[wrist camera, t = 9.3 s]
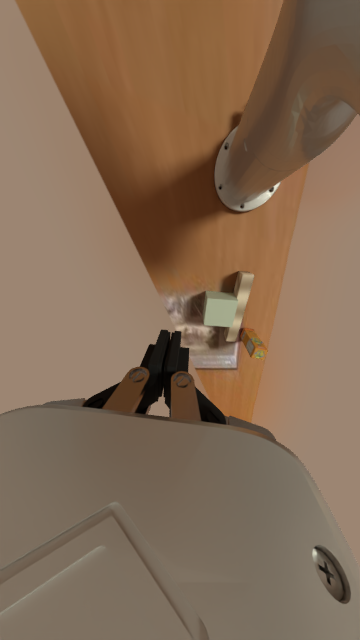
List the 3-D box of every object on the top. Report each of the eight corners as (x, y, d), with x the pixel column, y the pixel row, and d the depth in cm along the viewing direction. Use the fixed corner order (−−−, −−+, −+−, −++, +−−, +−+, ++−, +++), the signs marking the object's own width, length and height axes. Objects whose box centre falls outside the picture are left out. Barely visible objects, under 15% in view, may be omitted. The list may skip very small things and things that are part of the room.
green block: (205, 290, 40) (207, 298, 35) (232, 292, 40) (238, 300, 34) (202, 314, 43) (203, 324, 38) (227, 316, 43) (232, 327, 37)
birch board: (238, 271, 37) (243, 274, 33) (248, 271, 37) (254, 275, 33) (223, 333, 45) (226, 341, 42) (232, 334, 45) (235, 342, 42)
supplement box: (254, 328, 44) (270, 350, 35) (249, 338, 45) (263, 361, 36) (243, 326, 44) (255, 348, 35) (239, 336, 45) (250, 359, 36)
